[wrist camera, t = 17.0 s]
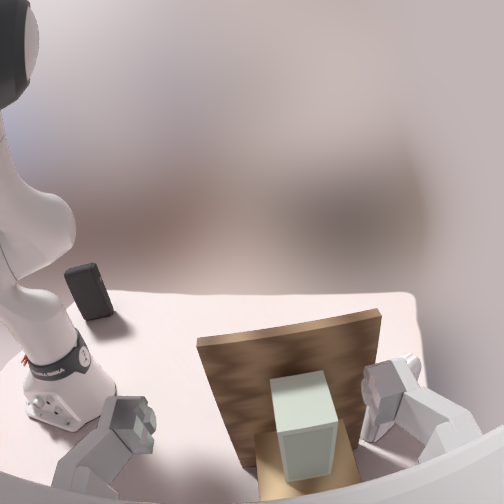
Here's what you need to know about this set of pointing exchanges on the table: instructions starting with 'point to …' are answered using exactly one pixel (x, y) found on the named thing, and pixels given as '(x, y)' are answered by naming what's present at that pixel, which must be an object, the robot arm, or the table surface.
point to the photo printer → (378, 431)
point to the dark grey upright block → (89, 291)
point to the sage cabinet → (304, 425)
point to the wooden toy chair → (282, 365)
